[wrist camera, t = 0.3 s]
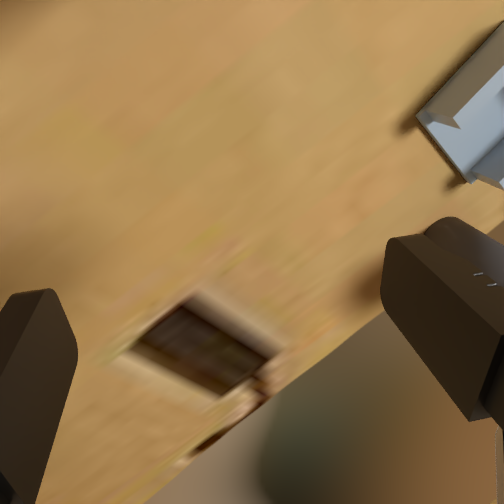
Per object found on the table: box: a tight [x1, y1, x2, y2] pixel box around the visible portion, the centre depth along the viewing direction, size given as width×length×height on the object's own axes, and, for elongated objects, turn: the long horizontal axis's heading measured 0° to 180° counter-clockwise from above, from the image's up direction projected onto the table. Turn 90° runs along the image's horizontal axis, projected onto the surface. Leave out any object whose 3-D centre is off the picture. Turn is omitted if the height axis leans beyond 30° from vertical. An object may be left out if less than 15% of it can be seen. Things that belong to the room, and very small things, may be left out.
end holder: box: [415, 22, 504, 190], centre depth 27 cm, size 8×8×4 cm
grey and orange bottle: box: [424, 217, 504, 288], centre depth 29 cm, size 5×5×12 cm
